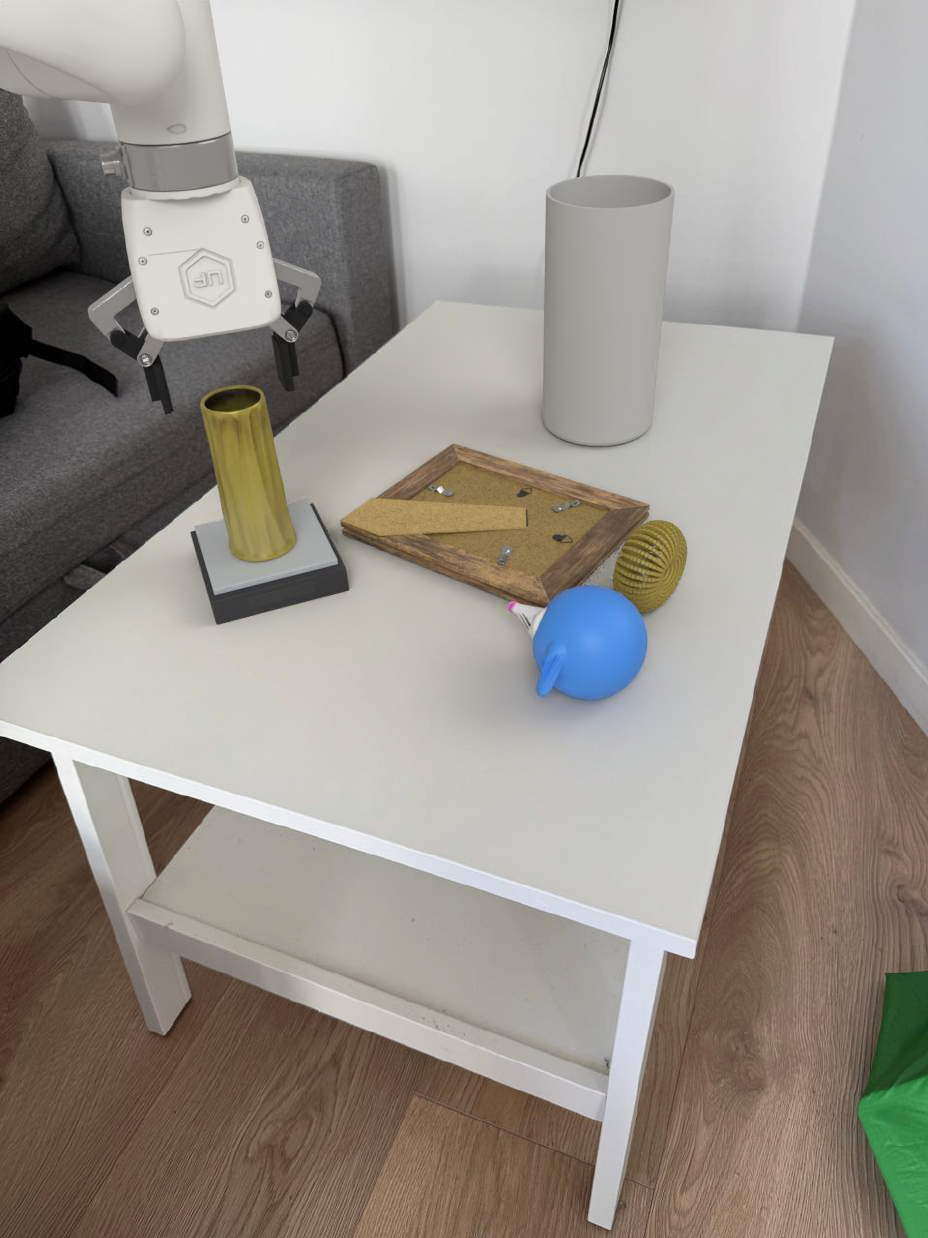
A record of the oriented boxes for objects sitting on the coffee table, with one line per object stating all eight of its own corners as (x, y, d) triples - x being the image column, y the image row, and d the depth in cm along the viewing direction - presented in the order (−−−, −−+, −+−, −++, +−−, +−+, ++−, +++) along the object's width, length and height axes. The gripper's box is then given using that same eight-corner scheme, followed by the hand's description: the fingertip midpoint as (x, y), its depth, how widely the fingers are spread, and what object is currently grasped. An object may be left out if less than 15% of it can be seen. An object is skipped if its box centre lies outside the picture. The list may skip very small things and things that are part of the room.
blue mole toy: (551, 608, 79) (553, 527, 74) (673, 663, 73) (684, 579, 68) (463, 684, 72) (458, 600, 67) (590, 752, 66) (595, 665, 61)
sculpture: (650, 573, 82) (658, 497, 77) (690, 590, 80) (701, 513, 75) (600, 618, 78) (606, 540, 73) (641, 636, 76) (650, 558, 71)
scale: (216, 625, 79) (208, 597, 77) (195, 553, 88) (188, 525, 86) (349, 590, 82) (345, 562, 80) (316, 523, 91) (312, 497, 89)
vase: (285, 518, 86) (258, 376, 77) (306, 551, 82) (279, 404, 73) (222, 536, 84) (186, 392, 75) (239, 570, 80) (204, 422, 71)
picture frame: (342, 535, 89) (549, 618, 78) (339, 520, 88) (549, 601, 77) (453, 455, 101) (648, 517, 90) (453, 440, 100) (650, 502, 88)
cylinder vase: (562, 392, 112) (568, 171, 96) (663, 407, 108) (687, 178, 92) (527, 439, 103) (528, 203, 87) (635, 457, 99) (657, 213, 83)
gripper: (51, 191, 58) (121, 436, 69) (316, 161, 63) (343, 394, 73) (48, 167, 64) (113, 397, 74) (291, 141, 68) (320, 361, 79)
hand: (228, 396), depth 74 cm, fingers open, 9 cm apart
